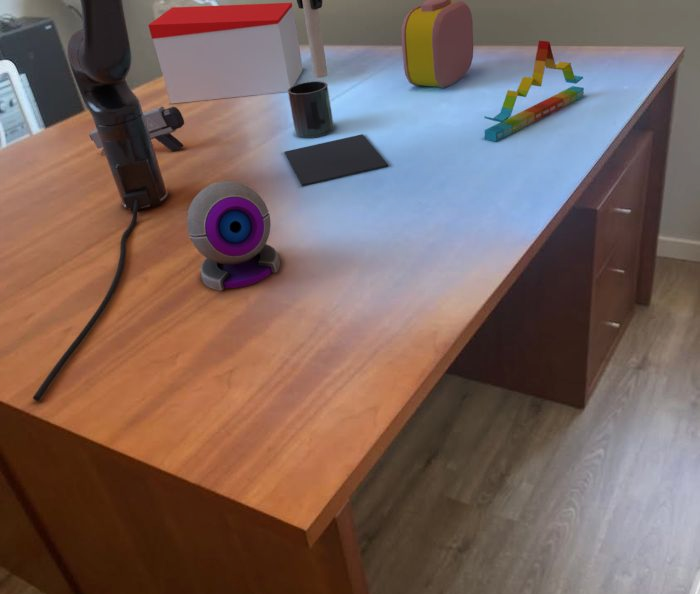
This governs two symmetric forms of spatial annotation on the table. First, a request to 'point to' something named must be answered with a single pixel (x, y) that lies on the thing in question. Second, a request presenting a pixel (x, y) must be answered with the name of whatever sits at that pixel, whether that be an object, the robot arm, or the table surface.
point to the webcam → (231, 235)
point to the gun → (157, 127)
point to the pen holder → (311, 109)
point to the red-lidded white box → (227, 50)
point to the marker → (315, 40)
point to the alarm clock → (437, 43)
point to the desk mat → (334, 159)
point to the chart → (541, 109)
